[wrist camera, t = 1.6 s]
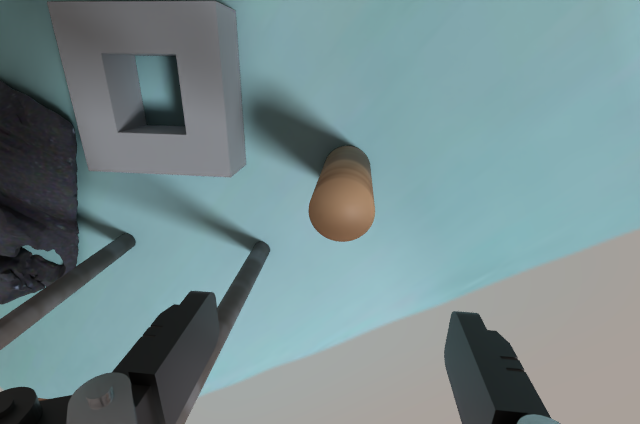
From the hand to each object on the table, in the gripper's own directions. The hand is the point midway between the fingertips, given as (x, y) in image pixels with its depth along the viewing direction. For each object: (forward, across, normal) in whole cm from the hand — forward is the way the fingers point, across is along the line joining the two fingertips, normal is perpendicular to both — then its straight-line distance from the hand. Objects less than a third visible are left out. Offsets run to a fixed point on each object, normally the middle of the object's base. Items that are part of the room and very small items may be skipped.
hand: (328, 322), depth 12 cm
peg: (+20, 0, 0) cm, 20 cm away
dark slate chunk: (+21, +33, +4) cm, 39 cm away
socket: (+20, +15, -6) cm, 26 cm away
